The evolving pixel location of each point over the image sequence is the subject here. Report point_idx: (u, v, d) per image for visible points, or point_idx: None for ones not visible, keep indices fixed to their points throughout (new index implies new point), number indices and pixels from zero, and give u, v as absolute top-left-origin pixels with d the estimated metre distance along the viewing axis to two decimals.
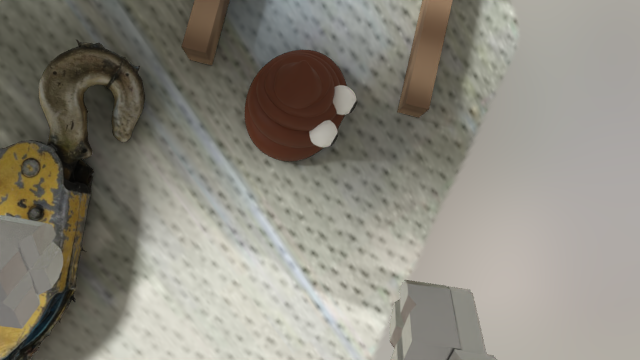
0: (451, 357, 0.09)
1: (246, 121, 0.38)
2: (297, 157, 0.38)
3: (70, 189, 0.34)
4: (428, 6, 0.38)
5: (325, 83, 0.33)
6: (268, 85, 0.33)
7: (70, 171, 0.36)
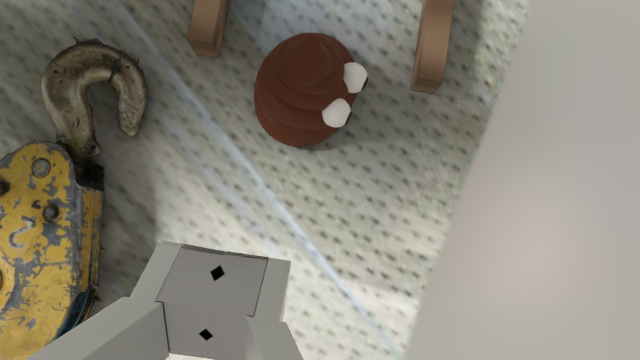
0: (245, 324, 0.09)
1: (256, 109, 0.37)
2: (311, 141, 0.37)
3: (83, 185, 0.33)
4: None
5: (334, 58, 0.33)
6: (277, 65, 0.32)
7: (81, 170, 0.35)
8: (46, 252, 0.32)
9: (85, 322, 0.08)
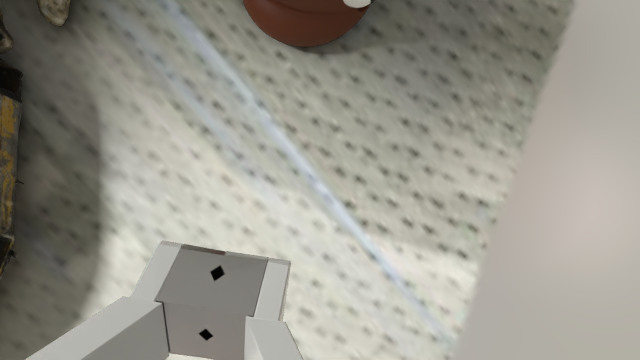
0: (245, 324, 0.09)
1: None
2: (321, 35, 0.25)
3: None
4: None
5: None
6: None
7: None
8: None
9: (85, 322, 0.08)
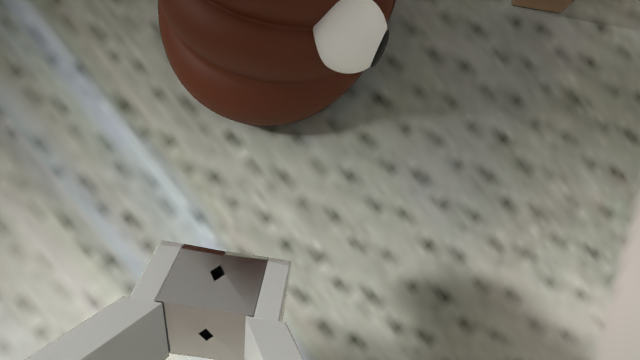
0: (245, 324, 0.09)
1: (162, 37, 0.16)
2: (291, 112, 0.16)
3: None
4: None
5: None
6: None
7: None
8: None
9: (85, 322, 0.08)
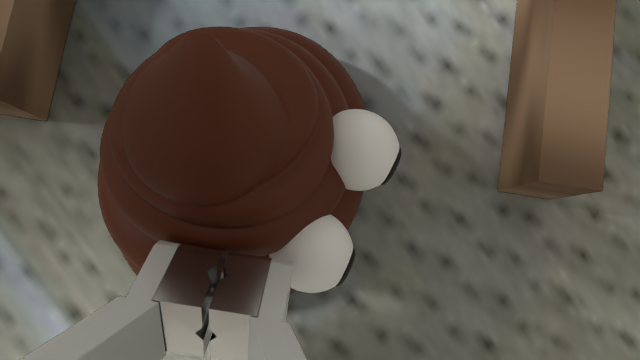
0: (249, 325, 0.09)
1: None
2: None
3: None
4: None
5: (299, 108, 0.10)
6: (113, 132, 0.10)
7: None
8: None
9: (81, 322, 0.08)
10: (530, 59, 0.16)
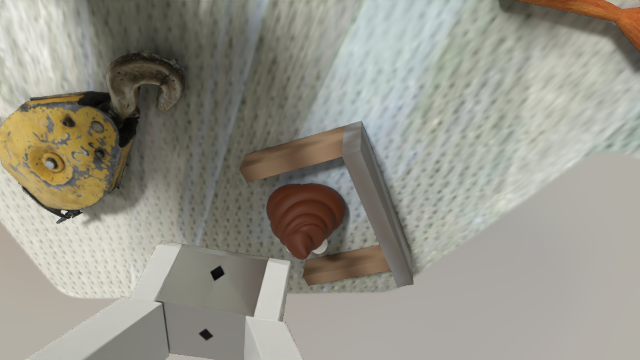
0: (245, 324, 0.09)
1: (274, 196, 0.55)
2: None
3: (122, 146, 0.50)
4: (363, 264, 0.59)
5: (312, 250, 0.53)
6: (289, 228, 0.52)
7: (123, 123, 0.50)
8: (93, 171, 0.52)
9: (85, 322, 0.08)
10: (334, 263, 0.62)
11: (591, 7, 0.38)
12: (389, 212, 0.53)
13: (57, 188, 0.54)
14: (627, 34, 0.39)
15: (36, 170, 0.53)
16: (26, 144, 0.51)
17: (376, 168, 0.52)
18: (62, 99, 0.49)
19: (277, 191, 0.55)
